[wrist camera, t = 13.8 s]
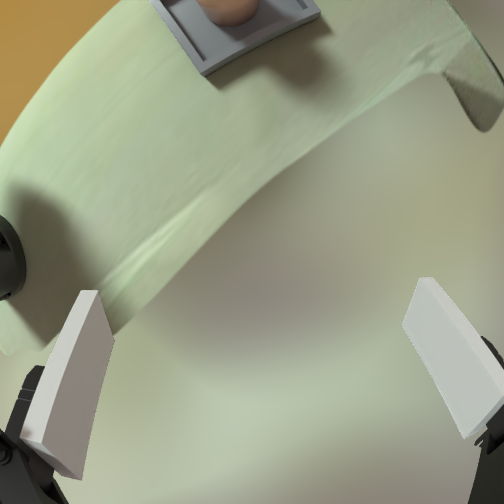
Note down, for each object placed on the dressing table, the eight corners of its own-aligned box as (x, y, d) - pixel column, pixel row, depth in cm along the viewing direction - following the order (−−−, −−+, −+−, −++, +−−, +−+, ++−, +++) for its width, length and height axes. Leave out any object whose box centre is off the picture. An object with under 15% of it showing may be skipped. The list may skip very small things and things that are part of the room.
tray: (204, 77, 32) (199, 73, 29) (152, 3, 28) (145, -4, 26) (317, 18, 29) (320, 11, 26) (258, -52, 25) (257, -62, 23)
